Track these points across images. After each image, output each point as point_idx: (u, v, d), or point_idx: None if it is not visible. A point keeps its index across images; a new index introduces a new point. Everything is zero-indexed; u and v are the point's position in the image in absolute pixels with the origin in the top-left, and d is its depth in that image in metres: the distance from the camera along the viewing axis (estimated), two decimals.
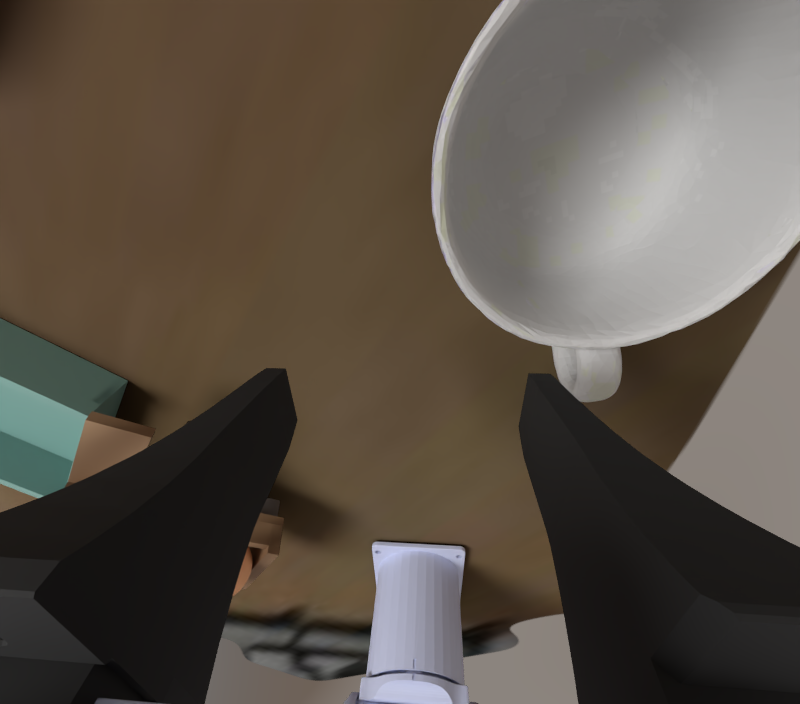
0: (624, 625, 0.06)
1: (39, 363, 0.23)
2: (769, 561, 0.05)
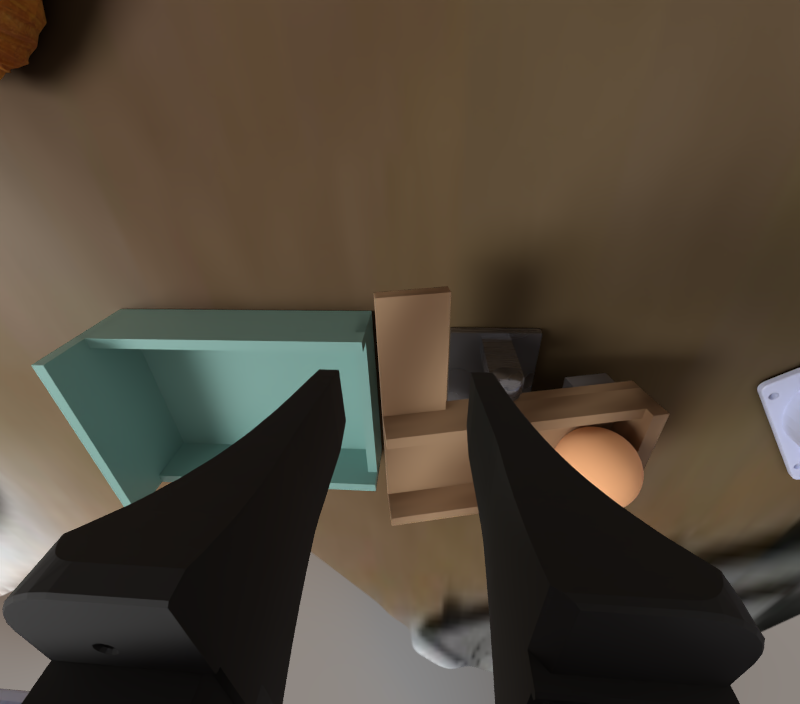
0: (516, 617, 0.06)
1: (289, 324, 0.21)
2: (635, 553, 0.05)
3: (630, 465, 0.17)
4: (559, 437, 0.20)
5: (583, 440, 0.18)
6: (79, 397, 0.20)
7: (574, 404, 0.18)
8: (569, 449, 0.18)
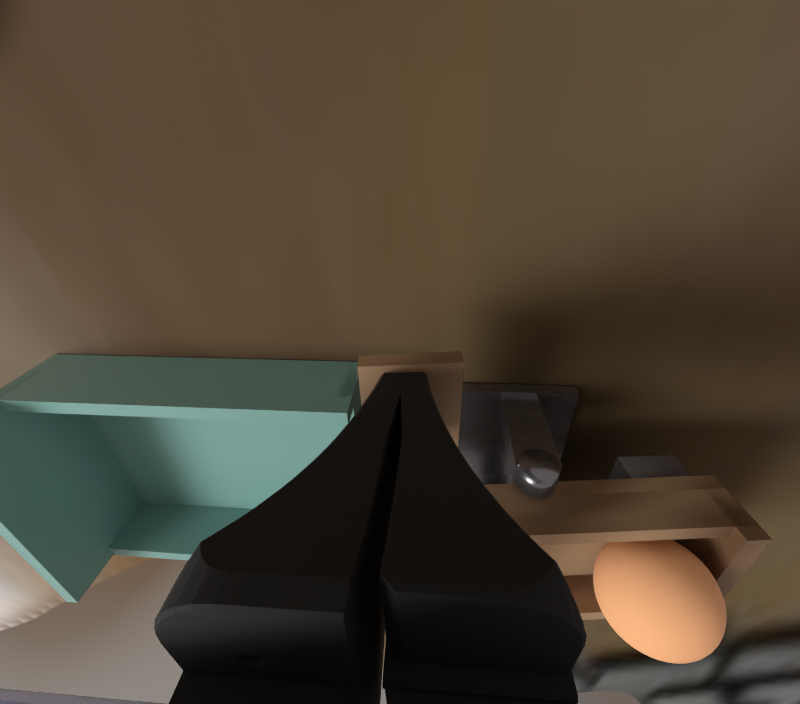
0: None
1: (258, 381, 0.16)
2: (481, 545, 0.05)
3: (709, 610, 0.12)
4: None
5: (640, 558, 0.13)
6: None
7: (630, 508, 0.13)
8: (619, 567, 0.13)
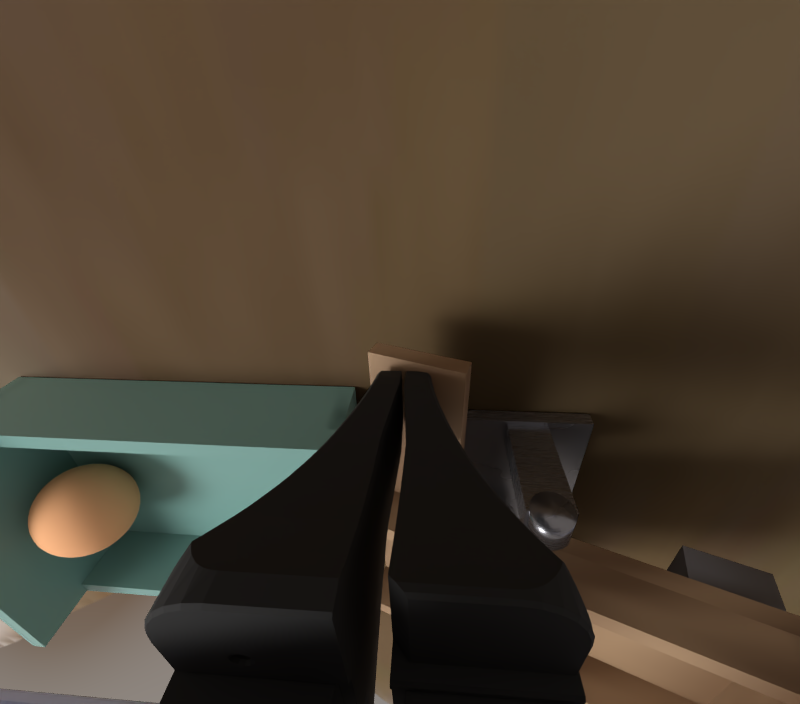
0: None
1: (238, 410, 0.15)
2: (488, 545, 0.05)
3: (69, 511, 0.16)
4: None
5: (51, 480, 0.17)
6: None
7: (657, 607, 0.11)
8: (42, 490, 0.17)
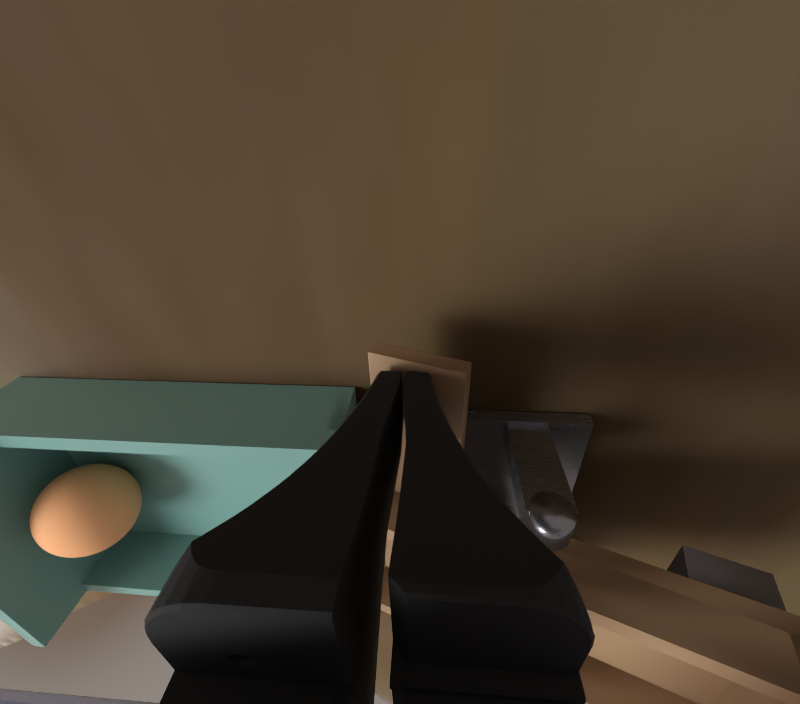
0: None
1: (238, 410, 0.15)
2: (488, 545, 0.05)
3: (72, 510, 0.16)
4: None
5: (52, 481, 0.17)
6: None
7: (657, 607, 0.11)
8: None
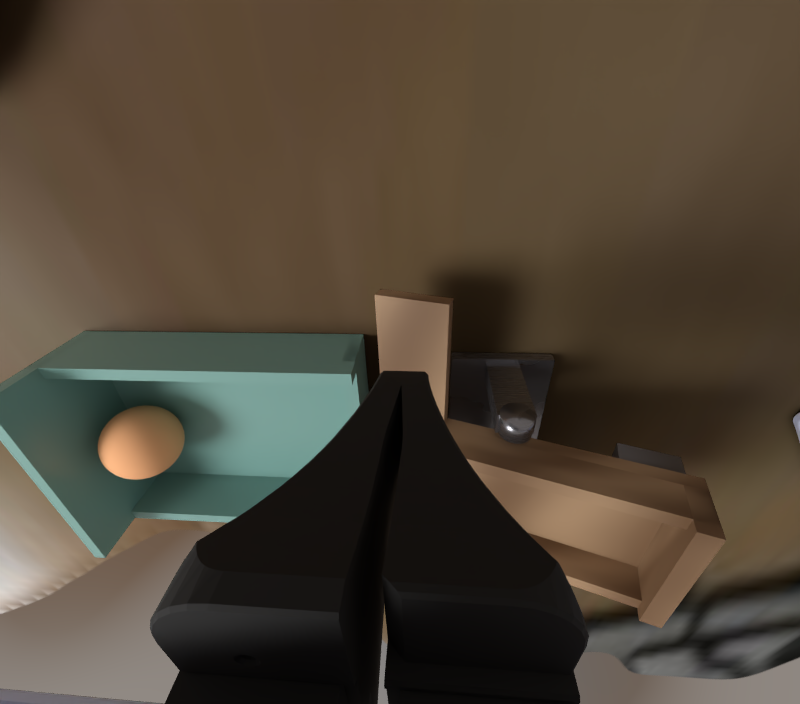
0: None
1: (270, 350, 0.18)
2: (483, 545, 0.05)
3: (135, 436, 0.19)
4: (581, 509, 0.17)
5: (114, 417, 0.20)
6: (31, 435, 0.17)
7: (593, 475, 0.15)
8: (105, 426, 0.20)
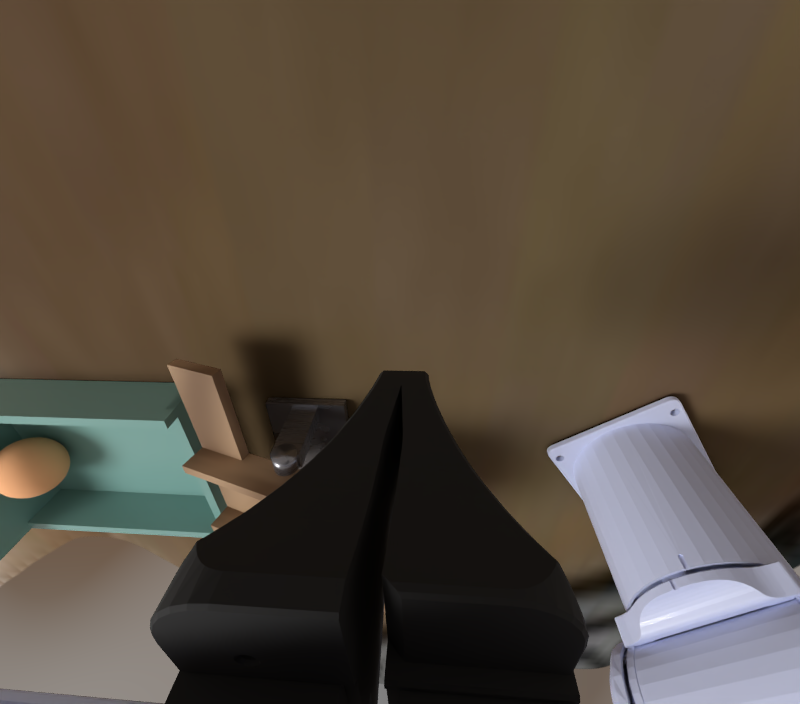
0: None
1: (115, 398, 0.23)
2: (483, 545, 0.05)
3: (19, 464, 0.24)
4: None
5: (3, 449, 0.25)
6: None
7: None
8: None
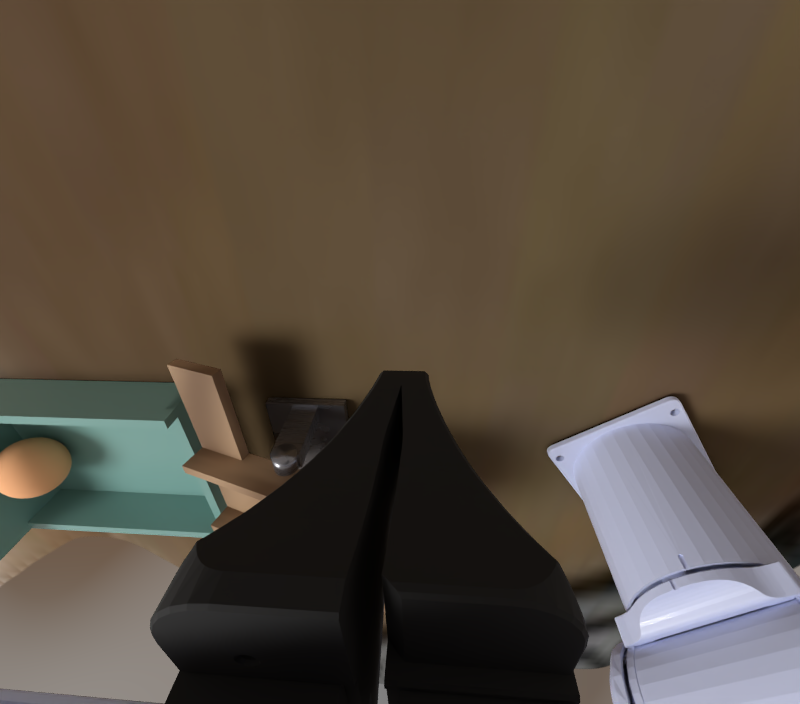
0: None
1: (115, 398, 0.23)
2: (483, 545, 0.05)
3: (22, 463, 0.24)
4: None
5: None
6: None
7: None
8: None
